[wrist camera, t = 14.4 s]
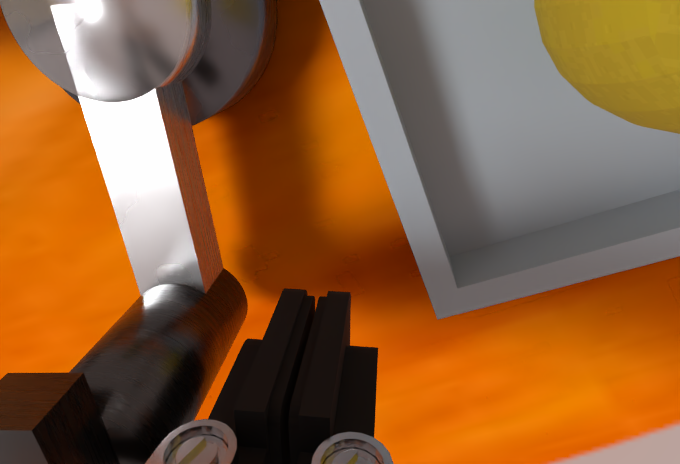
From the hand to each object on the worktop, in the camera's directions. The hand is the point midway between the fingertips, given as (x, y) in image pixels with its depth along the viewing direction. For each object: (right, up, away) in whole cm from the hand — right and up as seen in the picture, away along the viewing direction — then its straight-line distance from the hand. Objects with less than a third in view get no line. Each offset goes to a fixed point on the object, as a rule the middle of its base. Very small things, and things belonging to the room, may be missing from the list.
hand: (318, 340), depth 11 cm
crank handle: (-4, +4, +1) cm, 6 cm away
